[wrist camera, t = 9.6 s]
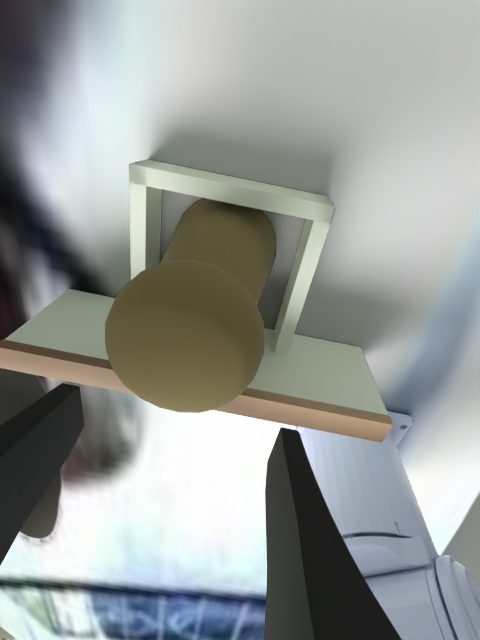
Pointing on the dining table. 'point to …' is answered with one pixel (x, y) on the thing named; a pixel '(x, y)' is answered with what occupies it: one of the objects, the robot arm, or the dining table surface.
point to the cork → (196, 311)
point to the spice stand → (280, 344)
